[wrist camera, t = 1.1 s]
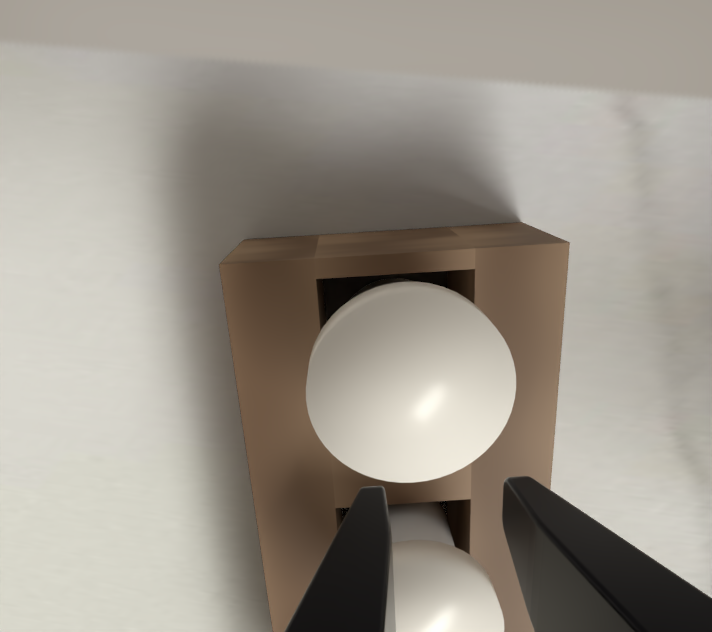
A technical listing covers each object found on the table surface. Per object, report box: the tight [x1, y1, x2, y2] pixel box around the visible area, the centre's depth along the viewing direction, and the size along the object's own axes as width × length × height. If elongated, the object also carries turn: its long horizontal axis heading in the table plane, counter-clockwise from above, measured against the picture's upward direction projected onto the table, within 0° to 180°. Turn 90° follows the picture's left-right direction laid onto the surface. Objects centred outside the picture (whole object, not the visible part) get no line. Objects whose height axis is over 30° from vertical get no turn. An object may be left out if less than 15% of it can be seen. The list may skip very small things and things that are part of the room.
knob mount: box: [219, 222, 570, 632], centre depth 20 cm, size 10×22×4 cm, turn 3°
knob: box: [306, 278, 516, 483], centre depth 15 cm, size 5×5×4 cm
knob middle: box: [388, 501, 504, 632], centre depth 17 cm, size 5×5×4 cm
